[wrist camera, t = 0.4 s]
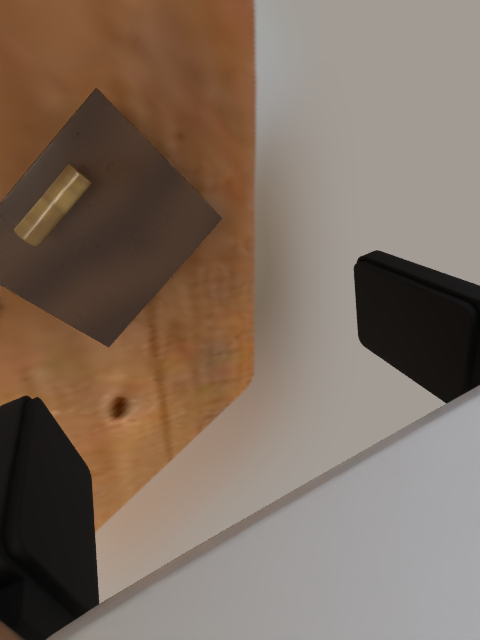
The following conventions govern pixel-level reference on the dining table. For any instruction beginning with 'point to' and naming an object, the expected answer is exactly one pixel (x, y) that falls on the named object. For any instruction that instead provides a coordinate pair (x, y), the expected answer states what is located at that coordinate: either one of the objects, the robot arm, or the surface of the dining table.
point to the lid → (98, 223)
